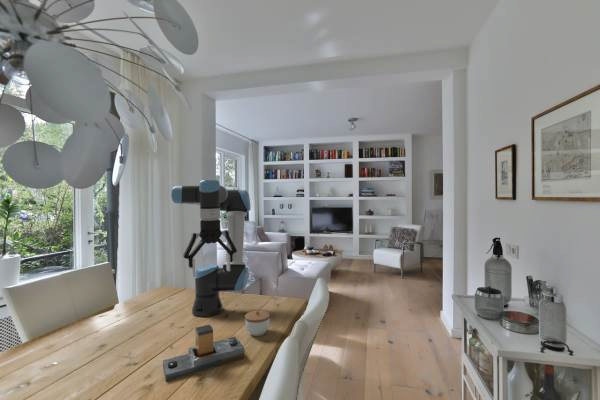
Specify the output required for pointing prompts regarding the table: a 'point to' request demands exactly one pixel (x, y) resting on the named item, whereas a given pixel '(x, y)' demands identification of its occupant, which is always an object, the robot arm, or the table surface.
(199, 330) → the square wooden peg
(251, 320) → the lidded jar
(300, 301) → the table surface
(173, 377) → the slotted plate with knobs
